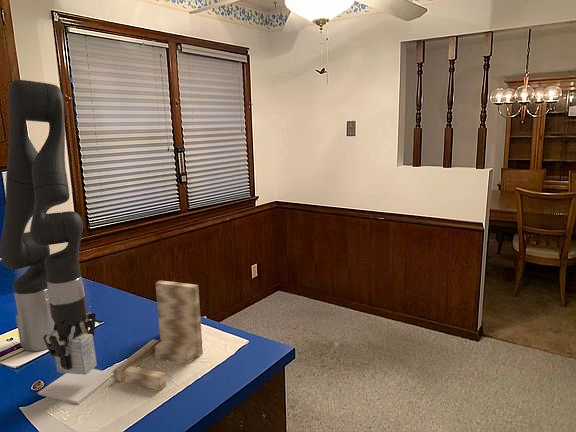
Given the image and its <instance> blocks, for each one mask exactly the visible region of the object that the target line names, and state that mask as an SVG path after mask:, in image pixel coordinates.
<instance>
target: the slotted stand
mask: <svg viewBox="0 0 576 432" xmlns="http://www.w3.org/2000/svg"><path fill="white" fill-rule="evenodd" d="M155 296H156V305H157V316H158V318H157V319H158V329H159V339H160V340H159V339H158V340H157V339H151V340H150V341H149V342H147V343H146V344H145V345H144V346H142V347H140V349H138V350H137V351H135V352H134V353H133V354H132V355H131V356H129V357H128V358H126V359H125V360H124V361H123V362H122V363H120V364H119V365H118V366H116V367H115V368H114V369H112V373H114V377H113V380H115V381H114V382H117V381H119V382H118V383H122V382H123V381H124V380H125V384H129V385H131V386H136V387H141V388H146V389H152V390H156V391H160V392H161V391H162V390H163V389H164V388H165V387H167V385H166V384H167V383H166V373H165V372H163V371H157V370H152V369H147V368H146V369H145V368H142V367H141V366H143V365H144V364H145V363H146V362H147V361H149V360H150V359H151V358H152V357H154V356H155V359H156V358H157V359H158V360H163V361H167V360H168V362H173V361H174V363H178V362H179V364H185V365H189V364H190V363H191V362H192V361H193V360H194V359H195V358H196V357H197V358H200V357H201V356H202V355H203V353H204V352H203V351H204V349H203V339H202V338H203V337H202V336H203V335H202V322H201V307H200V290H199V284H193V283H185V282H184V283H183V282H177V281H173V282H170V281H167V280H158V281H156V282H155ZM149 358H150V359H149ZM148 359H149V360H148ZM144 362H145V363H144ZM143 363H144V364H143ZM142 364H143V365H142ZM138 367H139V368H138Z"/></svg>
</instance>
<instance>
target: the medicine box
mask: <svg viewBox="0 0 576 432" xmlns="http://www.w3.org/2000/svg"><path fill="white" fill-rule="evenodd" d="M57 338H58V337H57ZM63 341H67V340H66V339H63ZM94 342H95V341H94V336H93V335H92V334H80V335H78V336H75V337H74V338H73V342H72V345H71V346H70V353H69V354H70V356H71V363H72V368H71V369H69V370H67V369H64V368H62V367H61V362H60V357H56V356H54V358H55V359H54V360H55V367H56V373H59V374H60V373H62V374H66V373H71V374H82V375H87V374H88V373H89V372H90V371H91V370H92V369H95V367H97V366H98V365H97V363H98V362H97V356H96V351H95V344H94ZM64 349H65V346H64V345H63V350H64Z"/></svg>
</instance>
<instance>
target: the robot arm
mask: <svg viewBox="0 0 576 432" xmlns="http://www.w3.org/2000/svg"><path fill="white" fill-rule="evenodd" d="M7 95H8V96H7V97H8V98H7V99H8V100H7V103H8V104H7V109H8V111H7V113H8V114H7V115H8V152H7V153H8V154H7V165H6V166H7V167H6V178H5V183H6V184H5V209H4V210H5V211H4V220H3V226H2V231H1V232H2V233H1V238H0V259H1V261H2V264H3V265H4V266H5V267H6V268H7V269H9V270H19V269H23V268H27V267H28V269H27V270H26V271H25V272H24V273H23V274H21V275H20V276H19V277H17V278H16V279H14V281H13V283H12V285H13V286H12V287H13V292H14V299H15V304H16V305H15V306H16V310H17V311H16V312H17V314H16V315H15V320H16V325H17V330H18V331H17V332H18V337H19V343H20V347H22V348H23V350H24V351H27V352H38V351H43V350H46V349H47V350H48V352H49V354H50V357H55V356H56V357H60V362H61V367H62V368H64V369H67V370H69V369H71V368H72V363H71V356H70V354H69V353H70V346H71V345H72V342H73V338H74V337H75V336H78V335H80V334H92V335H93V337H94V336H95V331H96V318H97V317H96V316H97V315H96V314H97V313H95V312H88V310H87V304H86V303H87V302H86V296H85V288H84V287H85V286H84V282H83V279H82V273H81V265H80V248H81V247H80V246H81V241H82V236H83V229H84V222H83V219H82V217H81V216H80V214H79V213H78V212H76V211H73V210H72V211H71V210H70V211H60V212H52V213H47V212H48V211H49V210H50V209H51V208H53V207H57V206H60V205H63V204H64V203H67V202H68V201H69V200H70V187H69V182H68V176H67V170H66V156H65V155H66V154H65V151H66V149H65V148H66V146H65V145H66V143H65V142H66V129H65V126H66V125H65V122H66V121H65V102H64V94H63V93H62V90H61V88H60V87H59V86H58V85H56V84H54V83H49V82H48V83H47V82H42V81H41V82H40V81H33V80H27V79H26V80H25V79H14V80H12V81H11V82H10V84H9V88H8V93H7ZM29 121H30V122H40V123H41V122H42V123H47V124H48V125H49V126H48V127H49V128H48V130H49V131H48V135H47V138H46V139H45V141H44V143H43V145H42V147H41V148H40V149H39V151H37V150H36V148H35V146H34V145H33V143H32V141H31V139H30V137H29V135H28V132H27V127H26V122H29ZM30 220H31V223H30V227H29V231H27V232H25V230H26V228H27V225H28V223H29V222H30ZM65 243H66V246H65V248H64V249H62V250H59V251H56V252H53V253H51V250H50V249H51V248H50V246H51V245H59V244H60V245H61V244H65ZM57 337H58V338H57ZM63 339H66V340H67V341H63ZM63 345H64V346H65V349H64V350H63Z"/></svg>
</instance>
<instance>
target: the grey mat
mask: <svg viewBox="0 0 576 432" xmlns="http://www.w3.org/2000/svg"><path fill="white" fill-rule="evenodd" d="M113 376H114V373H113V372H110V371H106V370H100V369H96V368H93V369H92V370H91V371H90V372H89V373H88V374H87V375H82V374H71V373H63V375H61V376H60V377H59V378H57V379H55V380H54V381H52V382H51V383H50V384H48V385H46V386H45V387H43V389H40V390H39V391H38V392H37V394H38V395H39V396H43V397H47V398H50V399H55V400H60V401H63V402H68V403H71V404H77V405H80V404H81V403H82V402H83V401H85V400H86V399H87V398H88V397H90V396H91V395H92V394H94V393H95V392H96V391H97V390H98V389H100V388H101V387H102V386H104V385H105V384H106V383H108V382H109V381H110V380H111V379H112V378H114V377H113ZM110 378H111V379H110ZM109 379H110V380H109ZM108 380H109V381H108ZM103 384H104V385H103Z"/></svg>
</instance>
